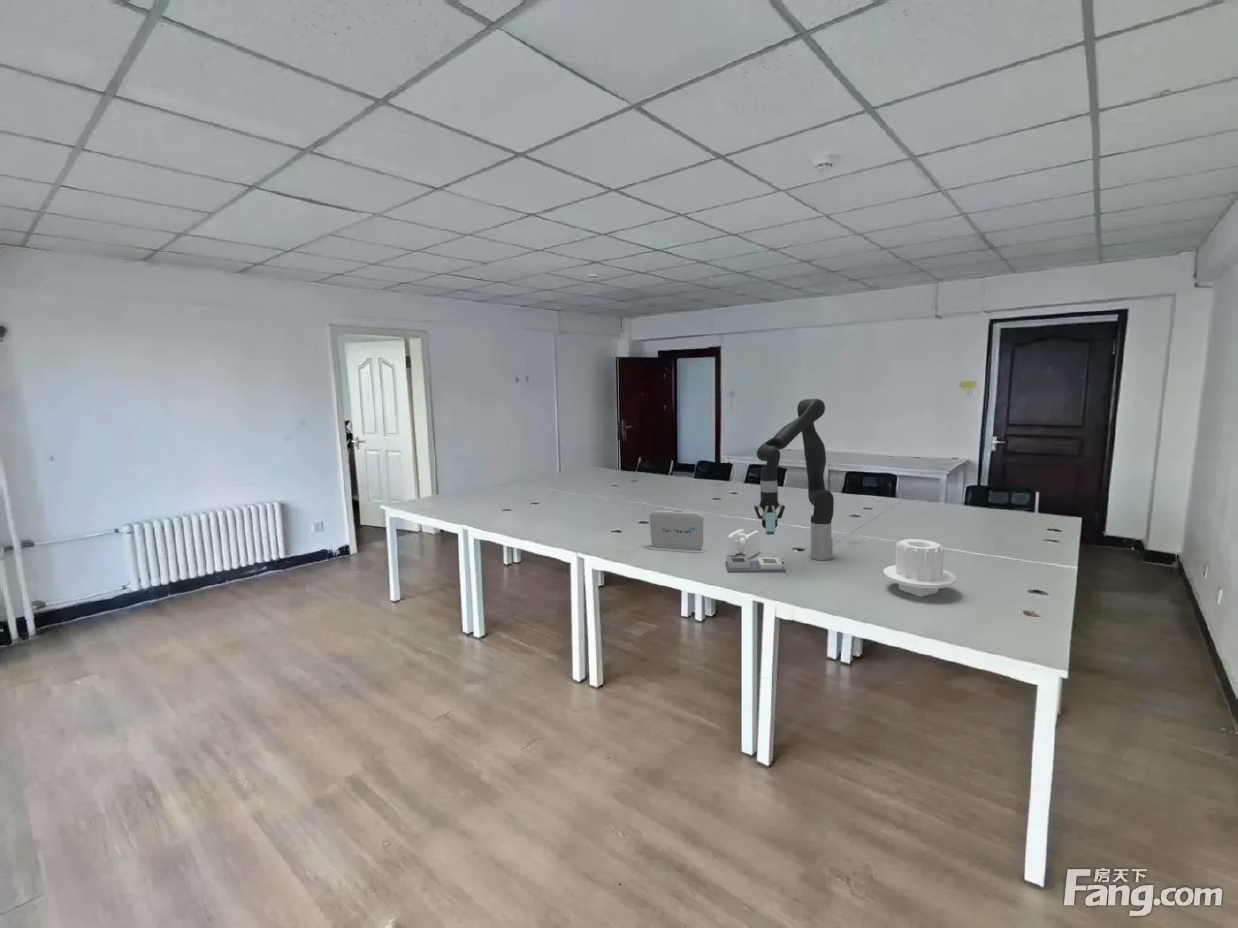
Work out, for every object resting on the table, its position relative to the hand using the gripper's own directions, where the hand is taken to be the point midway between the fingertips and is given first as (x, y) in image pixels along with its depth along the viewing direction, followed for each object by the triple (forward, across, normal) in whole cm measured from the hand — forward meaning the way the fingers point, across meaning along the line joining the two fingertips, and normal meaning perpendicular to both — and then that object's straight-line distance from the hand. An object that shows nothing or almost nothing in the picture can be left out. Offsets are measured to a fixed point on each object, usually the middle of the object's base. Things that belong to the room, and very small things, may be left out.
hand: (769, 527), depth 255 cm
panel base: (+19, +7, 0) cm, 20 cm away
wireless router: (+19, +42, -32) cm, 56 cm away
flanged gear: (+19, -52, +31) cm, 63 cm away
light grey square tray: (+19, 0, 0) cm, 19 cm away
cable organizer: (+19, +9, -20) cm, 29 cm away
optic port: (+19, +14, 0) cm, 23 cm away
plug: (+3, 0, 0) cm, 3 cm away
